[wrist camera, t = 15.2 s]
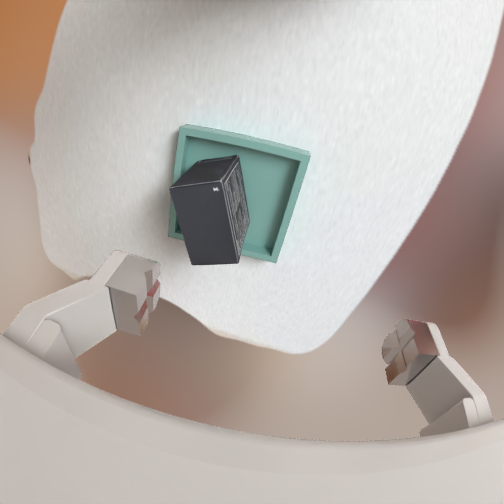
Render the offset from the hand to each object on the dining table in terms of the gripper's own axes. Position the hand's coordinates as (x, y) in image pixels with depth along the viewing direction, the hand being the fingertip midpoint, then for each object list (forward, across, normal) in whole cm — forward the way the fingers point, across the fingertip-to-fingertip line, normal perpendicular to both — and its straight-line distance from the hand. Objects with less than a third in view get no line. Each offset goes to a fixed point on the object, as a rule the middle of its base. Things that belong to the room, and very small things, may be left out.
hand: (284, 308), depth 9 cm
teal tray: (+31, +5, +10) cm, 33 cm away
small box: (+31, +6, +10) cm, 33 cm away
